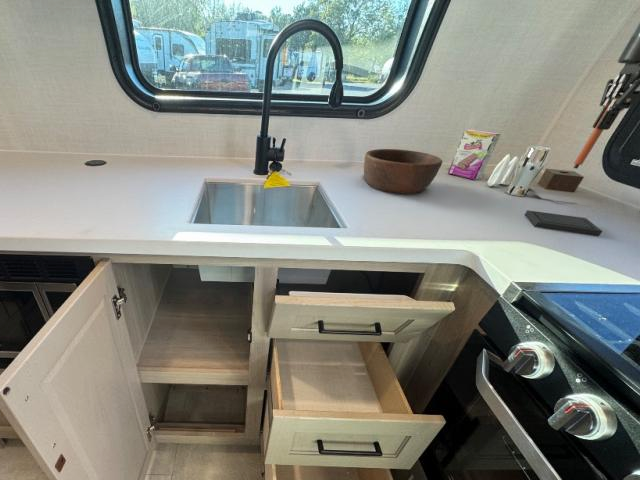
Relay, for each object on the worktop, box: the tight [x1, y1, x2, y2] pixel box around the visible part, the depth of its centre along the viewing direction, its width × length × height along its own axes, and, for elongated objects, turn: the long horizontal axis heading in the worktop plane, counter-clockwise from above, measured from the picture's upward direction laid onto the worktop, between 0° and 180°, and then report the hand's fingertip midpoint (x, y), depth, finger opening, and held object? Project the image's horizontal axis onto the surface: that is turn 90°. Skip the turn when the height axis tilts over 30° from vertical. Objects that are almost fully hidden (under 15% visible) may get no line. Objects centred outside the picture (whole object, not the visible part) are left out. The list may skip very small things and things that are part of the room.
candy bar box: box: [447, 129, 502, 181], centre depth 124 cm, size 11×5×16 cm, turn 34°
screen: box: [534, 211, 594, 229], centre depth 88 cm, size 11×8×1 cm
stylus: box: [573, 104, 610, 170], centre depth 77 cm, size 2×2×14 cm
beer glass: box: [505, 145, 554, 197], centre depth 107 cm, size 7×7×15 cm
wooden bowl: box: [363, 148, 443, 194], centre depth 113 cm, size 25×25×10 cm
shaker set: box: [487, 153, 519, 187], centre depth 116 cm, size 12×4×11 cm, turn 119°
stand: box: [537, 168, 585, 193], centre depth 111 cm, size 8×8×7 cm
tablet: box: [524, 209, 603, 237], centre depth 88 cm, size 14×10×2 cm
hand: (600, 128), depth 76 cm, fingers closed on stylus, 1 cm apart
